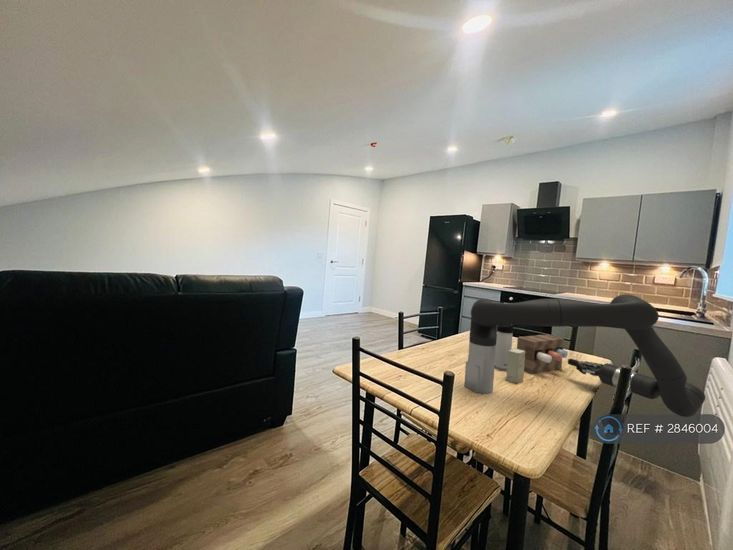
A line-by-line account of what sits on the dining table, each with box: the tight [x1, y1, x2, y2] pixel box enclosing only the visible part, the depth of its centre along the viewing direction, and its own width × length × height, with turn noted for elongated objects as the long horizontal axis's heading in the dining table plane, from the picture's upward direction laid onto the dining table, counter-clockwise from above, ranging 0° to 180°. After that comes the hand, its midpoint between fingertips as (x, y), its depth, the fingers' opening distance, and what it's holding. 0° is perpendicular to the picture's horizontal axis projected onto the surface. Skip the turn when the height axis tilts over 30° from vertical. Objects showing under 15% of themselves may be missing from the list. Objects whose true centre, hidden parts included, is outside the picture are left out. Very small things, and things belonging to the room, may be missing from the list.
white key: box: [537, 352, 552, 363], centre depth 122 cm, size 3×4×3 cm
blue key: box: [556, 348, 569, 359], centre depth 130 cm, size 3×4×3 cm
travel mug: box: [494, 324, 515, 372], centre depth 128 cm, size 6×7×20 cm
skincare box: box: [505, 347, 525, 384], centre depth 116 cm, size 6×4×12 cm
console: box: [516, 333, 565, 375], centre depth 131 cm, size 20×8×14 cm, turn 114°
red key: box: [547, 351, 563, 361], centre depth 125 cm, size 3×4×3 cm
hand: (569, 361), depth 120 cm, fingers closed
